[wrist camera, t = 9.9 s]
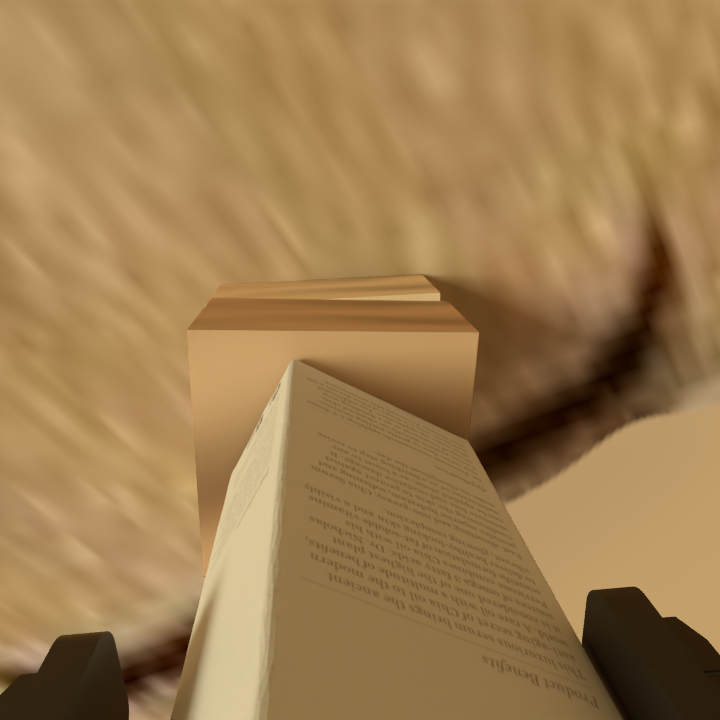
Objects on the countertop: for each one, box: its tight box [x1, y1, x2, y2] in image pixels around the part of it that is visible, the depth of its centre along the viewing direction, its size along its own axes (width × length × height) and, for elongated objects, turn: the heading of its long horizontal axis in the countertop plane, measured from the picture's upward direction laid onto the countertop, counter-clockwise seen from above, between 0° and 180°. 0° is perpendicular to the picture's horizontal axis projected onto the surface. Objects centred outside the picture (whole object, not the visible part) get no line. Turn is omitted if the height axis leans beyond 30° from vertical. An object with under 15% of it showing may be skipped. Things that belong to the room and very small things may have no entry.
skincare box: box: [170, 359, 623, 720], centre depth 11 cm, size 6×4×12 cm
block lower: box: [204, 274, 440, 308], centre depth 23 cm, size 8×8×4 cm
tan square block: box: [187, 298, 479, 577], centre depth 19 cm, size 8×8×4 cm
